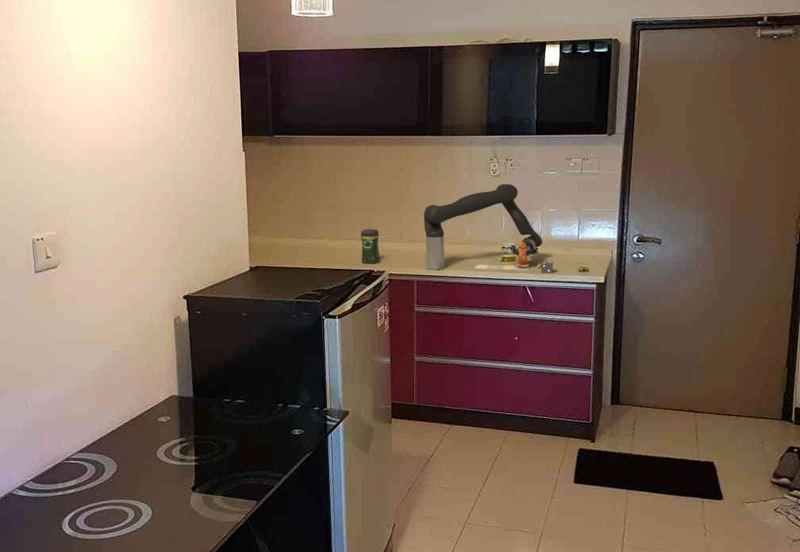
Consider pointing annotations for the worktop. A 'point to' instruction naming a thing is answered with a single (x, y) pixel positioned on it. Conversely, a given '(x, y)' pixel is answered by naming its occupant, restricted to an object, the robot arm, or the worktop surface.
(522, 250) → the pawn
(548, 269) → the die
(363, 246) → the coffee jar
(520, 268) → the board
